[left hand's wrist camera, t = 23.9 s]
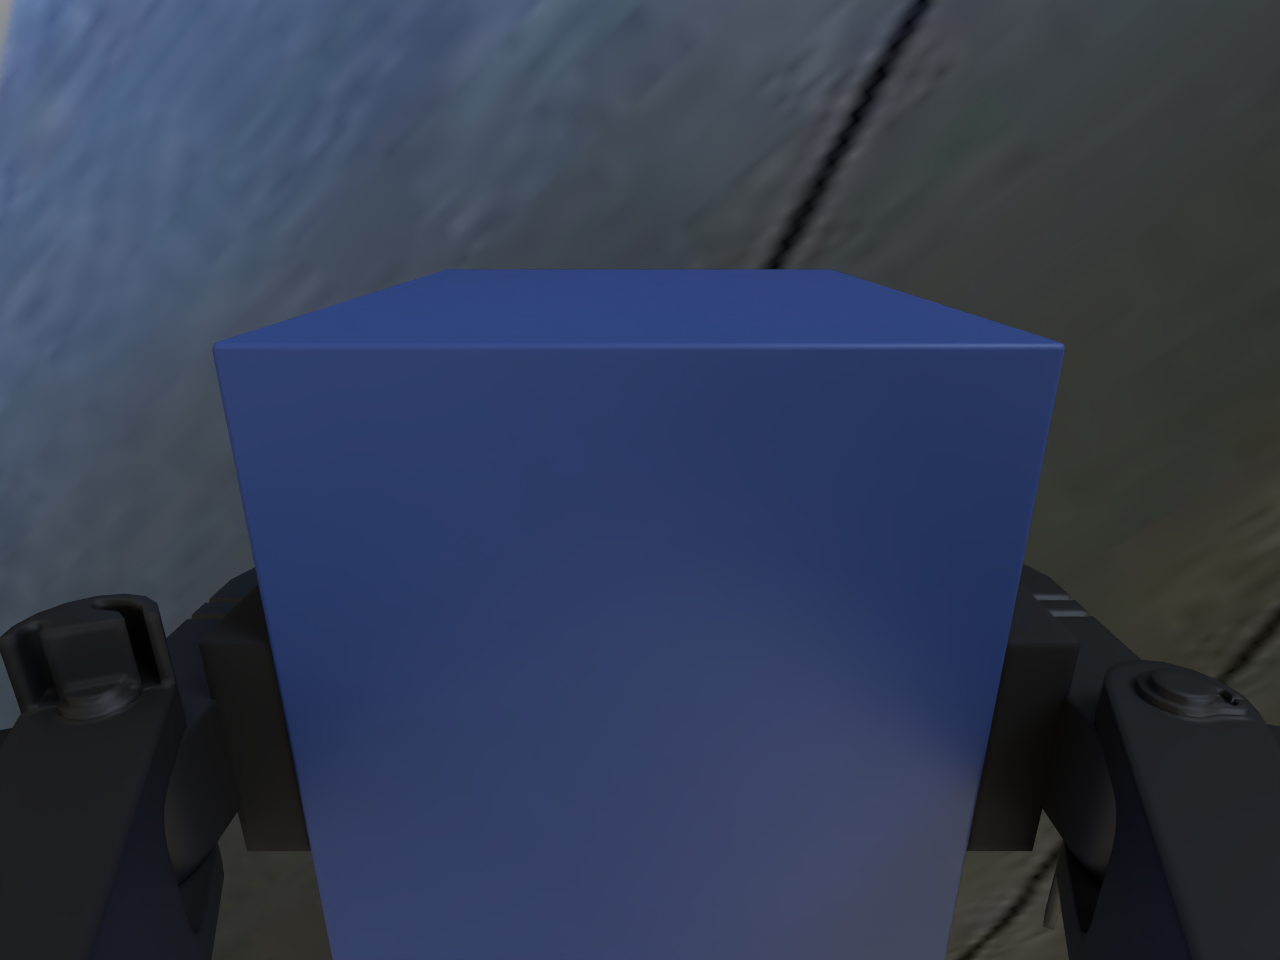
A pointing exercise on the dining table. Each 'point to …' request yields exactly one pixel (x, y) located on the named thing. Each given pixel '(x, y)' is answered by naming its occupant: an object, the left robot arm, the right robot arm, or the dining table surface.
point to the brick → (638, 605)
